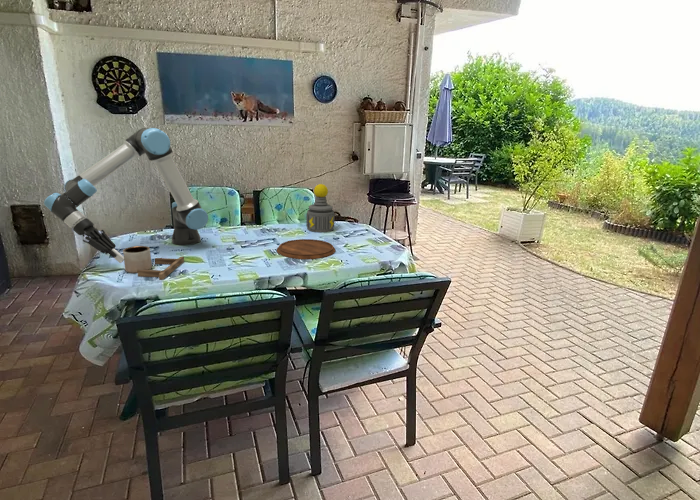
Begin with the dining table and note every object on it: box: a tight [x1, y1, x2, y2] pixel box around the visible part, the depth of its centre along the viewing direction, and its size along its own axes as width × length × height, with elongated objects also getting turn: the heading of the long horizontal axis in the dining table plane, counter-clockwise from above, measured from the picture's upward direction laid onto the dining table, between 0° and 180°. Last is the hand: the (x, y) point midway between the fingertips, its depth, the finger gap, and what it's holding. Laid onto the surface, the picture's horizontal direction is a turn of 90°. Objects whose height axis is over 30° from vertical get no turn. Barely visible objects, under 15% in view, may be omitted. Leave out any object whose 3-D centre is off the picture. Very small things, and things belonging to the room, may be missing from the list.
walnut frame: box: [136, 256, 185, 281], centre depth 181 cm, size 24×12×2 cm, turn 1°
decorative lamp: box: [305, 183, 336, 233], centre depth 260 cm, size 19×19×30 cm
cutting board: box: [276, 238, 336, 260], centre depth 219 cm, size 32×32×2 cm
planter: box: [122, 245, 153, 274], centre depth 180 cm, size 11×11×10 cm
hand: (122, 260), depth 180 cm, fingers closed
